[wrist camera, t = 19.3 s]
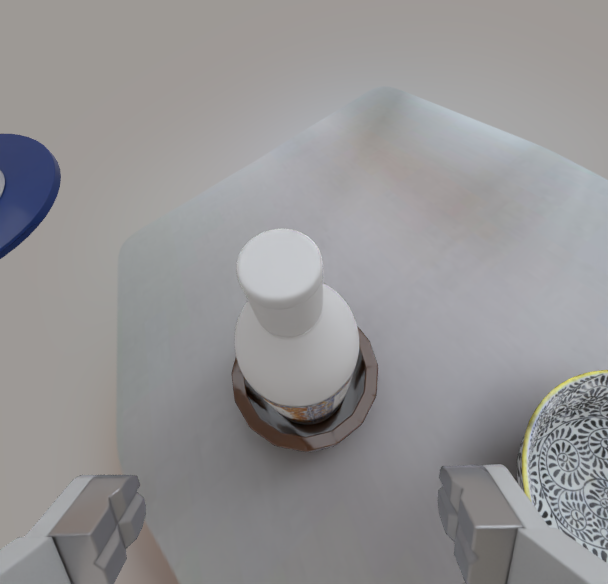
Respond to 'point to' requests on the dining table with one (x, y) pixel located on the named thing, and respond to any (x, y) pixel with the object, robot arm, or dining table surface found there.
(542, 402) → the bowl
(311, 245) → the bath foam
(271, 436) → the cup
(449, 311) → the dining table surface
